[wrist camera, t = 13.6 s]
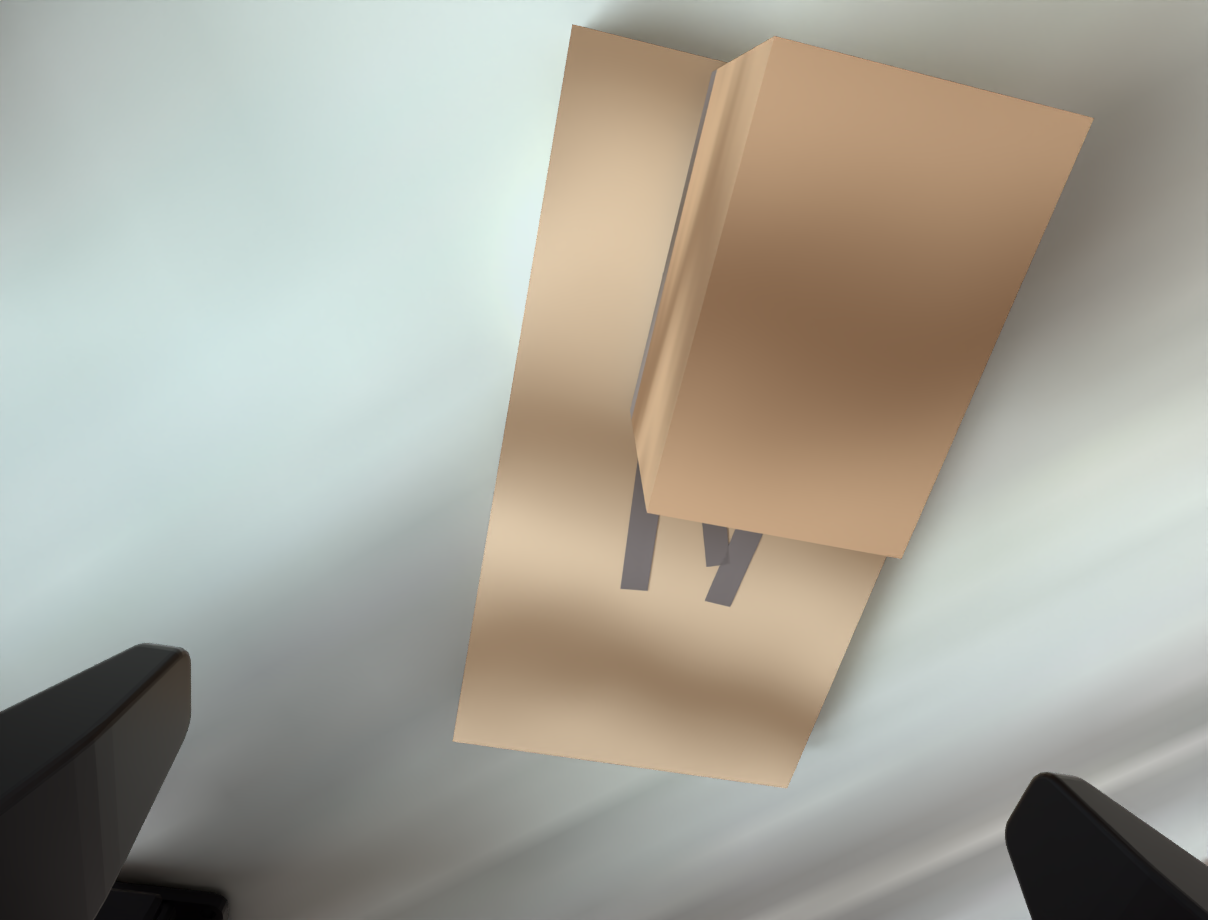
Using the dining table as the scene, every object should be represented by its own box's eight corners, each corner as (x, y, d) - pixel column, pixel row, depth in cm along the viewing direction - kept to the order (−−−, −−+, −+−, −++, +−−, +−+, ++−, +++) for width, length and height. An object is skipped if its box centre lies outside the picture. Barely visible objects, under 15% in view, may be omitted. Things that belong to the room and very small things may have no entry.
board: (775, 749, 23) (787, 788, 22) (460, 703, 22) (452, 742, 20) (1021, 145, 16) (1063, 145, 14) (573, 34, 15) (572, 23, 13)
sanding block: (815, 447, 17) (901, 559, 12) (630, 410, 16) (646, 512, 12) (930, 126, 14) (1094, 118, 10) (712, 71, 14) (774, 36, 9)
